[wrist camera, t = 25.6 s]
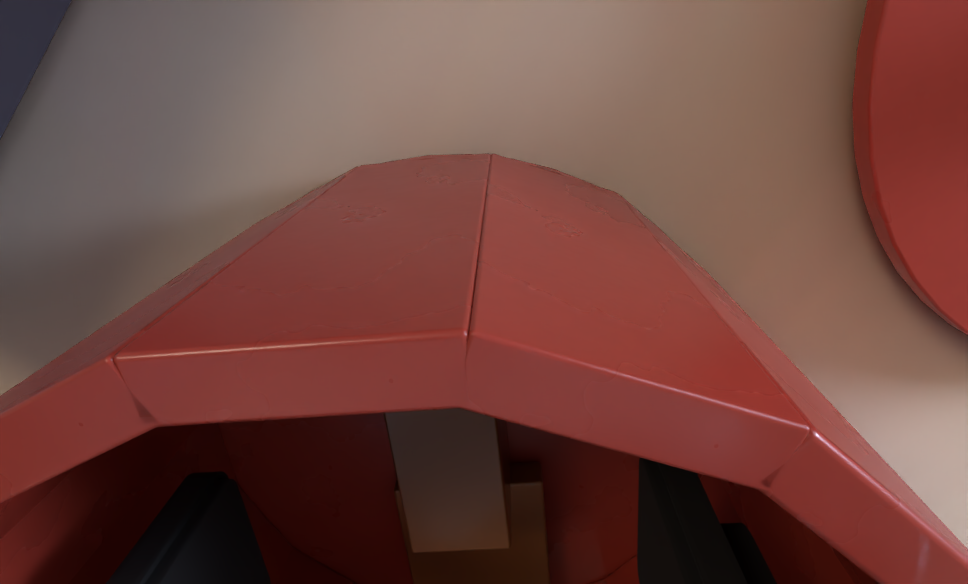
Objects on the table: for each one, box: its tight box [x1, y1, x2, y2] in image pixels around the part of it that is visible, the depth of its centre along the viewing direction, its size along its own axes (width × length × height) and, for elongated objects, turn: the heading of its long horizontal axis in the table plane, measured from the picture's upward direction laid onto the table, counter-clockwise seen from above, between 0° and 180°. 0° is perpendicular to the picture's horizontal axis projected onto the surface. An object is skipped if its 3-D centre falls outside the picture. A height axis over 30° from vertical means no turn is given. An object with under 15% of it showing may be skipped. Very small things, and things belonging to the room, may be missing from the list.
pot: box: [0, 154, 968, 584], centre depth 11 cm, size 14×14×8 cm
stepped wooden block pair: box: [383, 408, 551, 584], centre depth 13 cm, size 10×4×3 cm, turn 6°
